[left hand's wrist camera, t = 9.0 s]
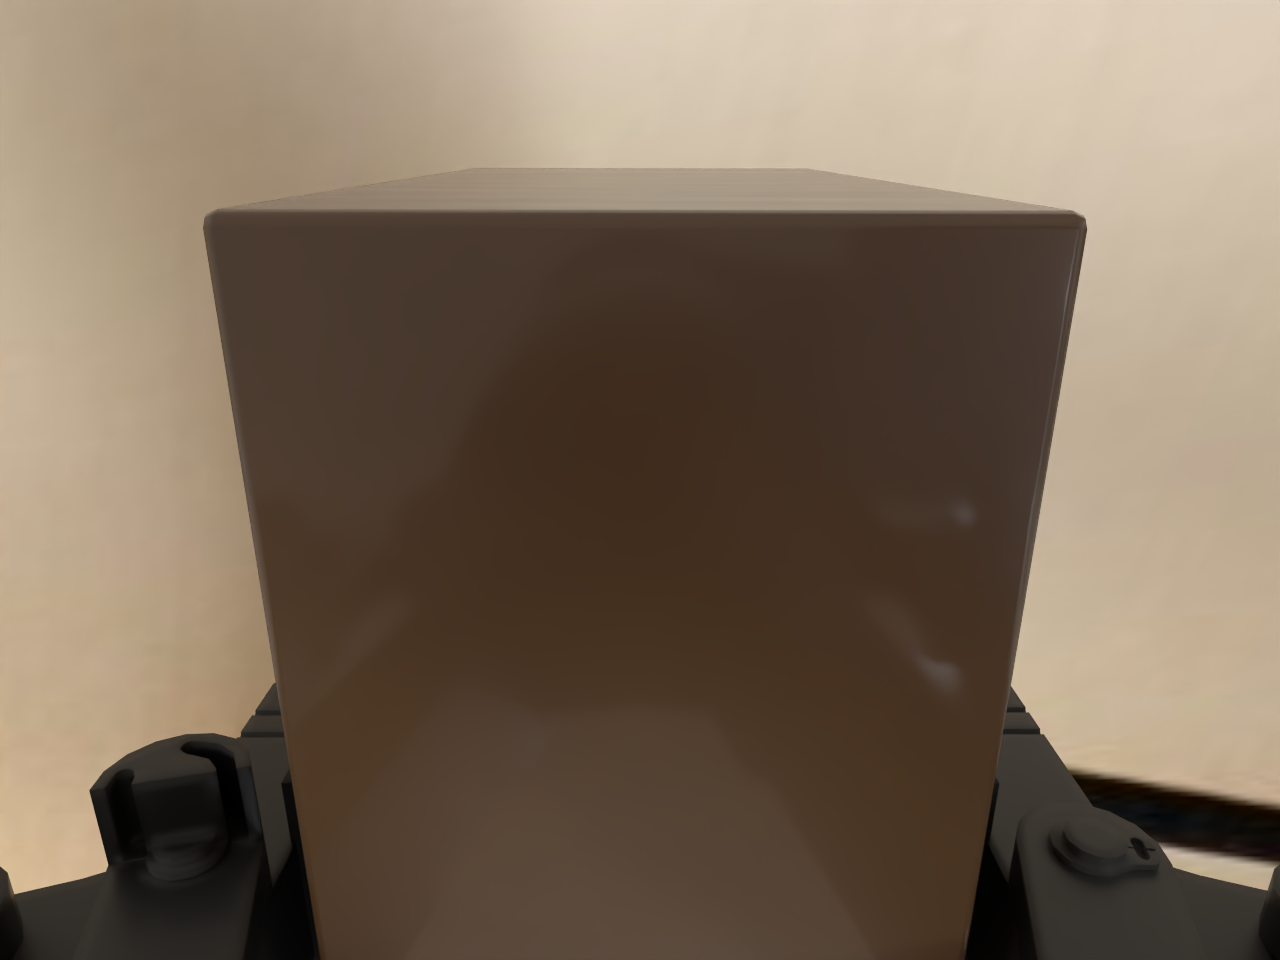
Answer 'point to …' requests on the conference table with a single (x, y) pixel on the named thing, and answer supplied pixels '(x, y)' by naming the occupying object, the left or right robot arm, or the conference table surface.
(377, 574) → the post
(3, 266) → the conference table surface
